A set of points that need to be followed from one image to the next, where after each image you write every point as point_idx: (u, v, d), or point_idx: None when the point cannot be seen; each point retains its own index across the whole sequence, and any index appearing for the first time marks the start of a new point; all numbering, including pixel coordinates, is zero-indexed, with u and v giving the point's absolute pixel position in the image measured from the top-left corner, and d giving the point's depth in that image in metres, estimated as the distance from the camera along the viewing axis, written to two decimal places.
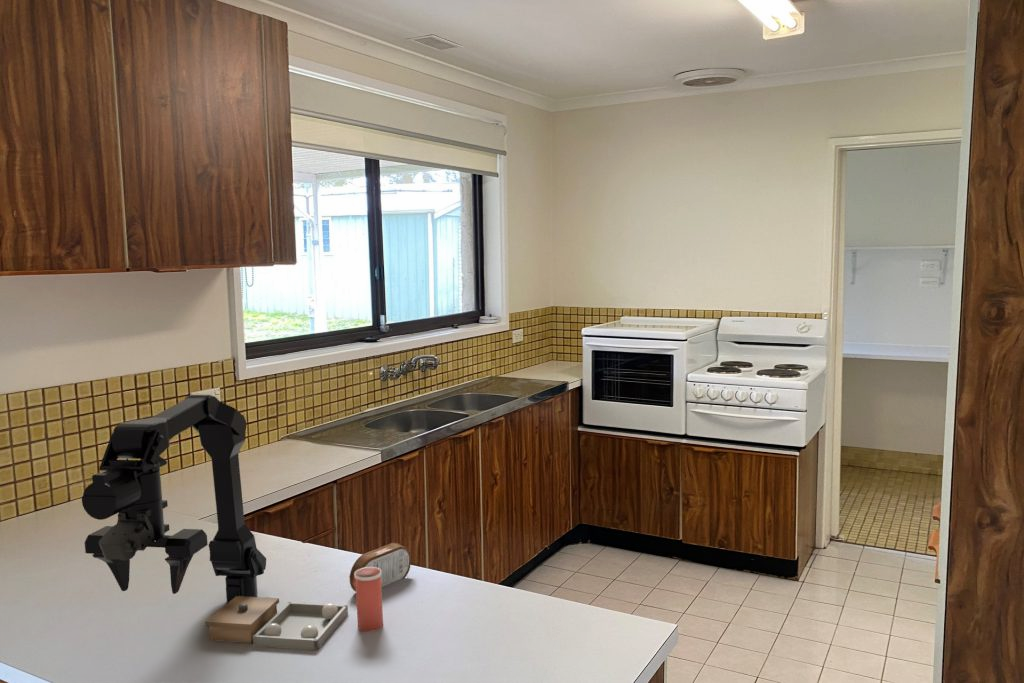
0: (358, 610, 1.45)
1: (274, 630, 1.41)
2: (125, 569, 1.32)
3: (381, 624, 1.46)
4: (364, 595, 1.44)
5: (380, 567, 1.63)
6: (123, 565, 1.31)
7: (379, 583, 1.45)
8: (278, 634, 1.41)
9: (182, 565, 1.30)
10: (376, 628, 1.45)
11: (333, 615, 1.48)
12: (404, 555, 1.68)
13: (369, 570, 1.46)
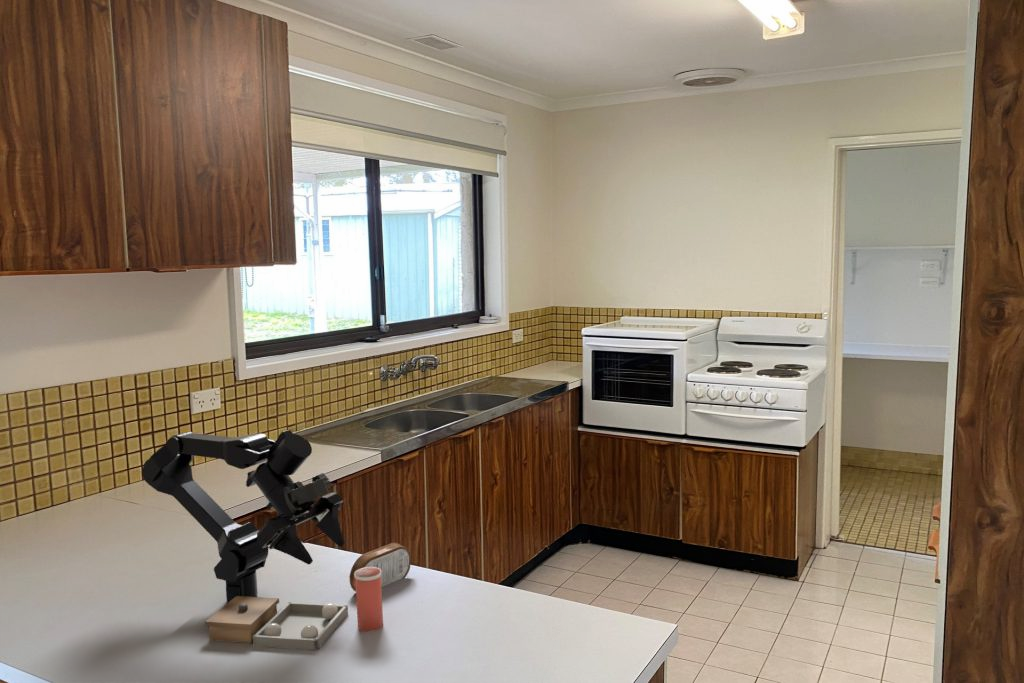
0: (358, 610, 1.45)
1: (274, 630, 1.41)
2: None
3: (381, 624, 1.46)
4: (364, 595, 1.44)
5: (380, 567, 1.63)
6: None
7: (379, 583, 1.45)
8: (278, 634, 1.41)
9: None
10: (376, 628, 1.45)
11: (333, 615, 1.48)
12: (404, 555, 1.68)
13: (369, 570, 1.46)
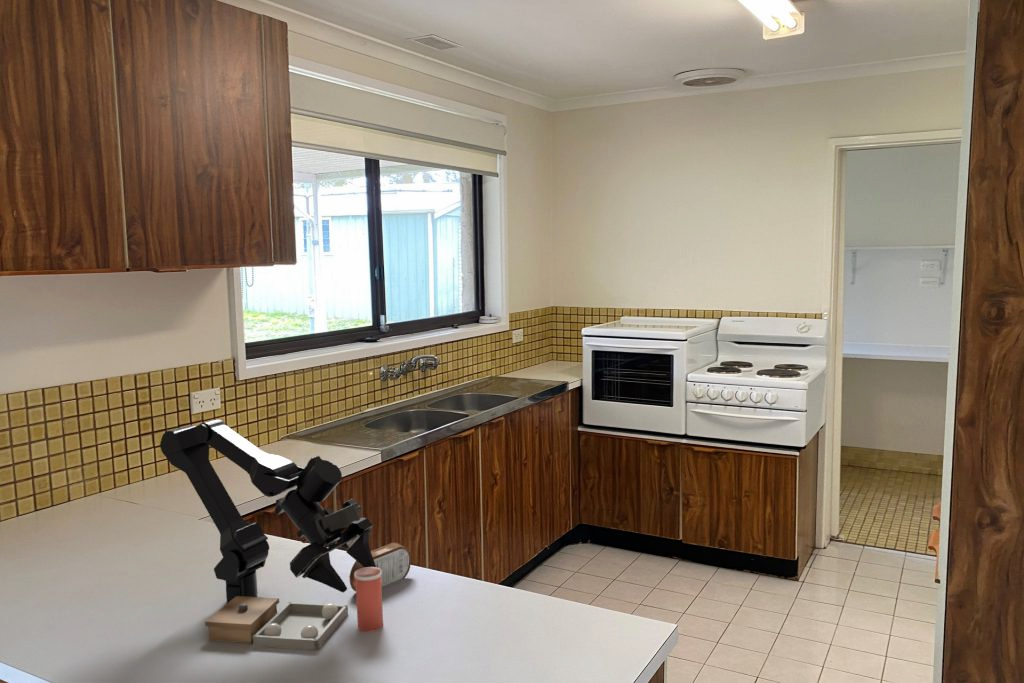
0: (358, 610, 1.45)
1: (274, 630, 1.41)
2: None
3: (381, 624, 1.46)
4: (364, 595, 1.44)
5: (380, 567, 1.63)
6: None
7: (379, 583, 1.45)
8: (278, 634, 1.41)
9: None
10: (376, 628, 1.45)
11: (333, 615, 1.48)
12: (404, 555, 1.68)
13: (369, 570, 1.46)
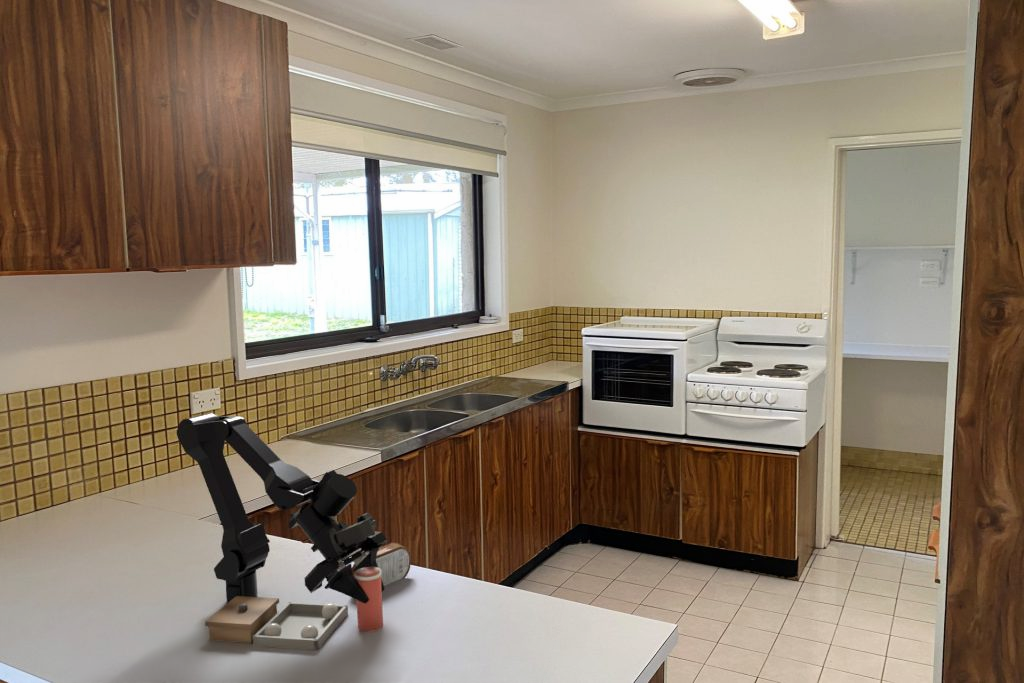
0: (358, 610, 1.45)
1: (274, 630, 1.41)
2: None
3: (381, 624, 1.46)
4: None
5: (380, 567, 1.63)
6: None
7: (379, 583, 1.45)
8: (278, 634, 1.41)
9: None
10: (376, 628, 1.45)
11: (333, 615, 1.48)
12: (404, 555, 1.68)
13: (369, 570, 1.46)
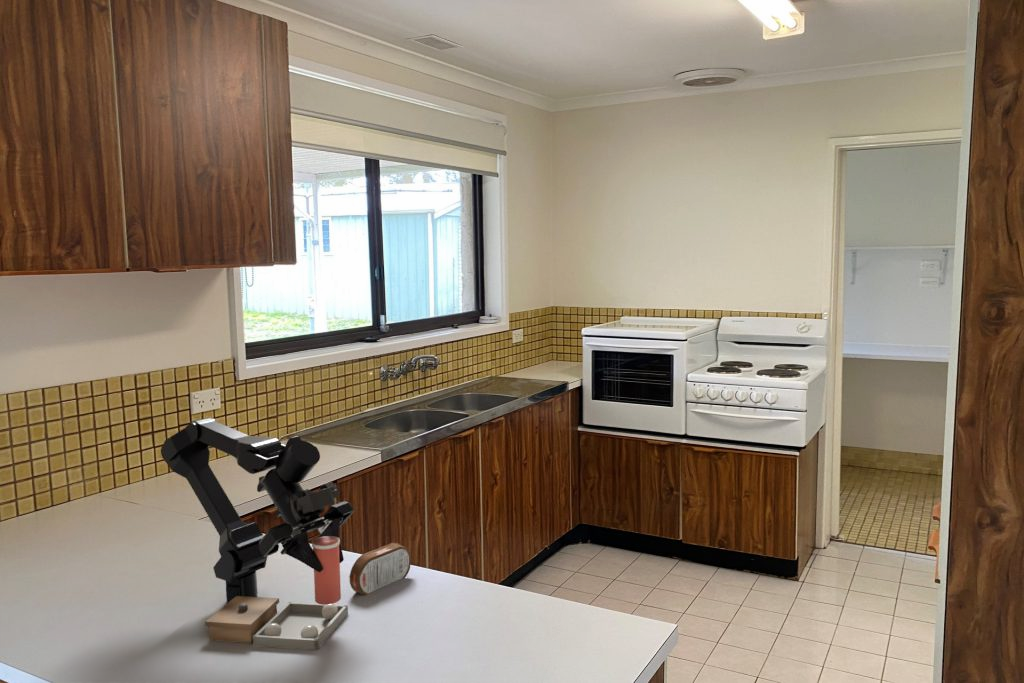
0: (314, 578, 1.44)
1: (274, 630, 1.41)
2: None
3: (337, 594, 1.44)
4: None
5: (380, 567, 1.63)
6: None
7: (336, 553, 1.43)
8: (278, 634, 1.41)
9: None
10: (331, 598, 1.43)
11: (333, 615, 1.48)
12: (404, 555, 1.68)
13: (328, 539, 1.45)
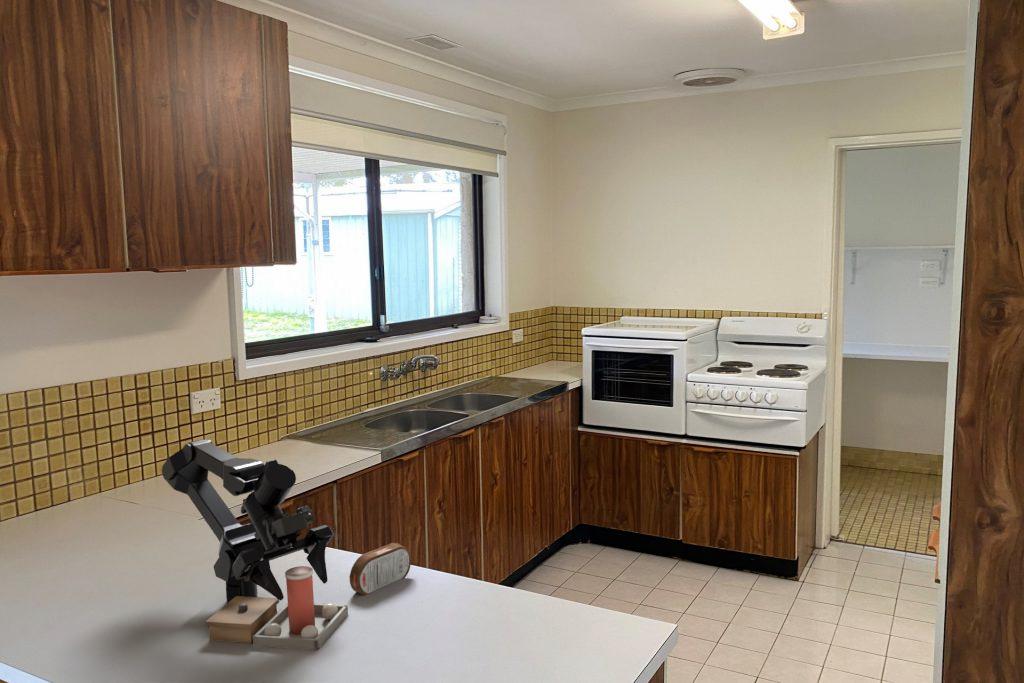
0: (288, 608, 1.45)
1: (274, 630, 1.41)
2: None
3: None
4: (291, 594, 1.43)
5: (380, 567, 1.63)
6: None
7: (307, 584, 1.44)
8: (278, 634, 1.41)
9: None
10: None
11: (333, 615, 1.48)
12: (404, 555, 1.68)
13: (302, 569, 1.45)
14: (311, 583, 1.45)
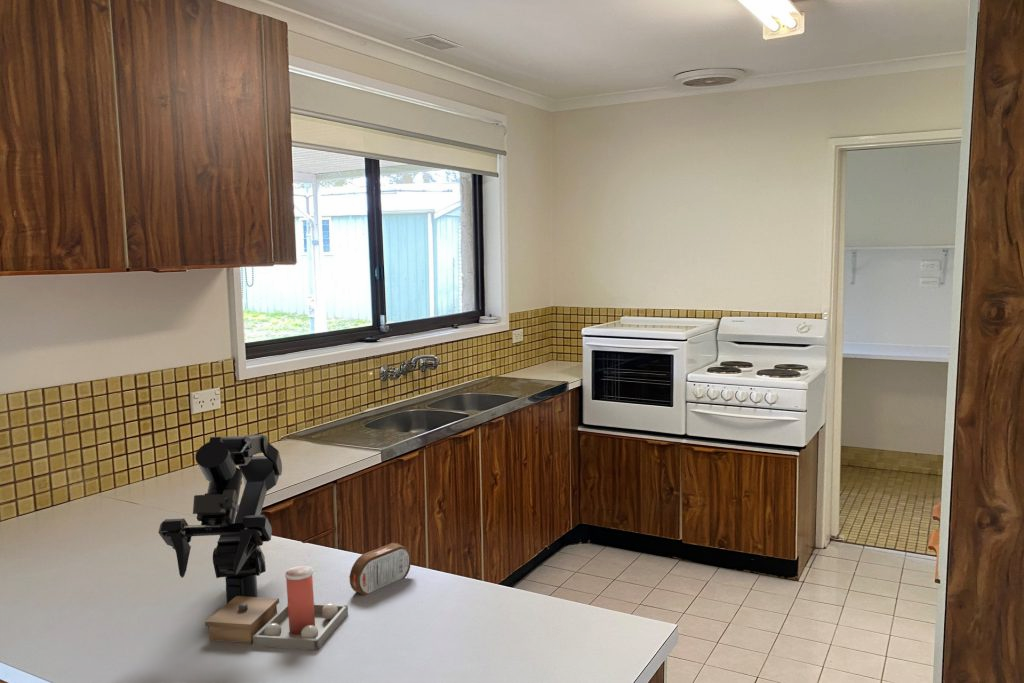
0: (288, 608, 1.45)
1: (274, 630, 1.41)
2: (185, 560, 1.42)
3: None
4: (291, 594, 1.43)
5: (380, 567, 1.63)
6: (185, 555, 1.42)
7: (307, 584, 1.44)
8: (278, 634, 1.41)
9: (246, 551, 1.43)
10: None
11: (333, 615, 1.48)
12: (404, 555, 1.68)
13: (302, 569, 1.45)
14: (311, 583, 1.45)
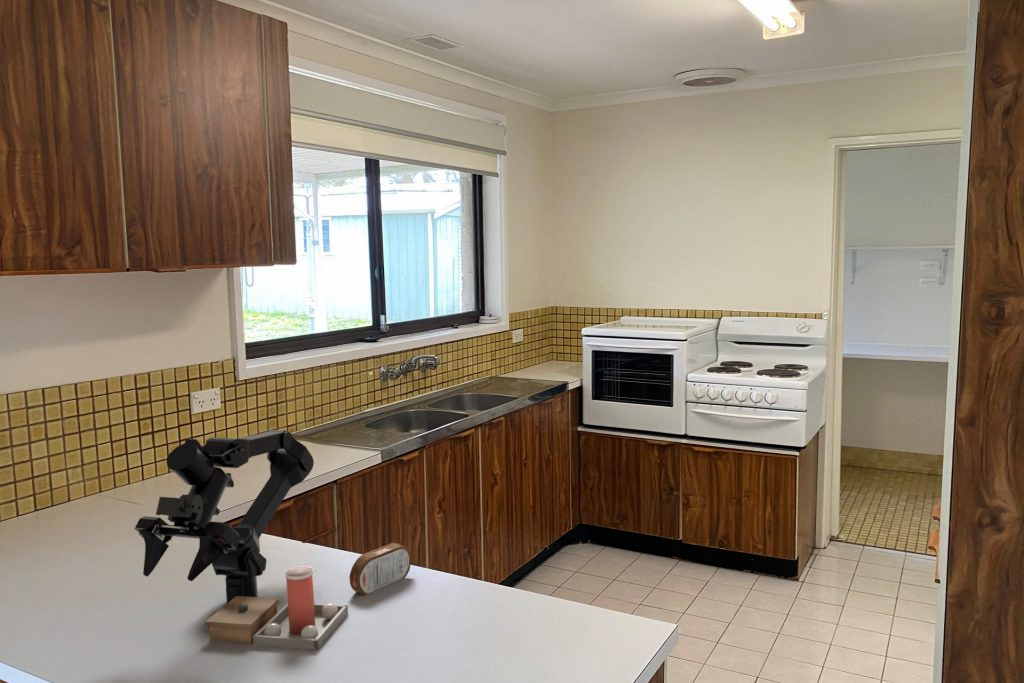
0: (288, 608, 1.45)
1: (274, 630, 1.41)
2: (155, 559, 1.43)
3: None
4: (291, 594, 1.43)
5: (380, 567, 1.63)
6: (156, 554, 1.43)
7: (307, 584, 1.44)
8: (278, 634, 1.41)
9: (207, 557, 1.40)
10: None
11: (333, 615, 1.48)
12: (404, 555, 1.68)
13: (302, 569, 1.45)
14: (311, 583, 1.45)
